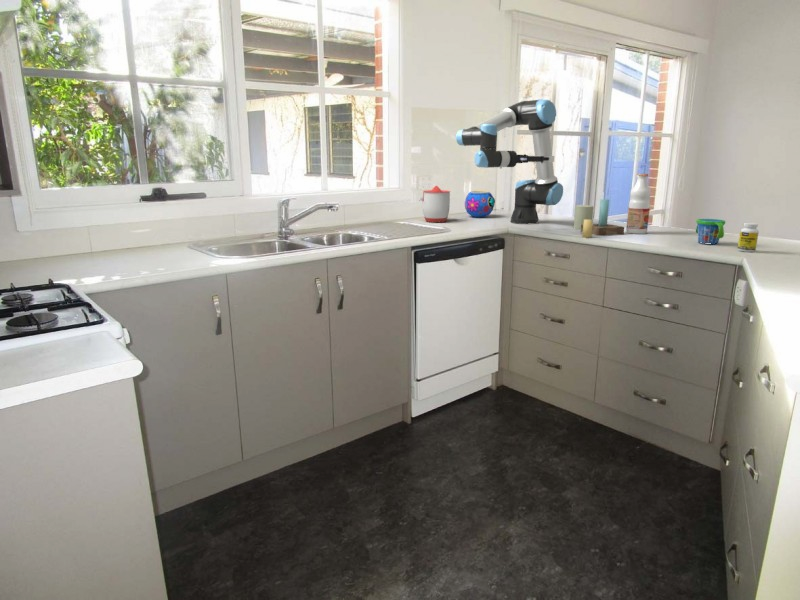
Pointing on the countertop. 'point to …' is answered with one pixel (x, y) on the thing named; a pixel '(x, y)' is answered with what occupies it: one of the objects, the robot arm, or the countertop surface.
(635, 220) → the fruit juice
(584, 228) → the short dowel
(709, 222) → the snack cup
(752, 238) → the pill bottle
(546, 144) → the robot arm
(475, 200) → the ceramic pot
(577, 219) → the can
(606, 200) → the tall dowel
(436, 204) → the citrus juicer
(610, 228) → the walnut block
